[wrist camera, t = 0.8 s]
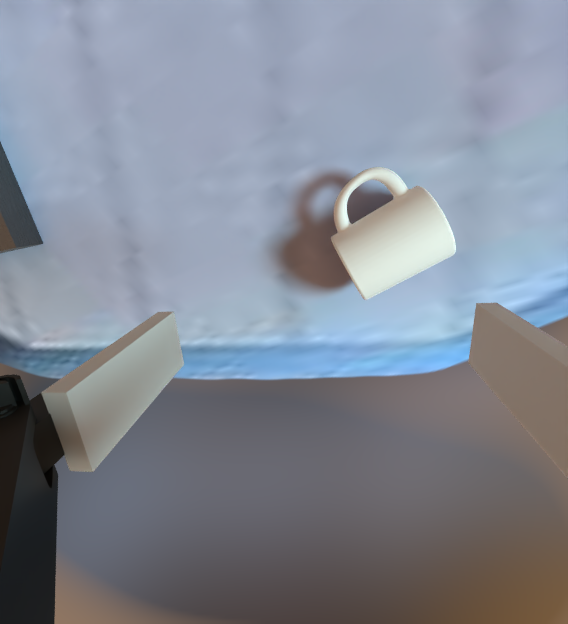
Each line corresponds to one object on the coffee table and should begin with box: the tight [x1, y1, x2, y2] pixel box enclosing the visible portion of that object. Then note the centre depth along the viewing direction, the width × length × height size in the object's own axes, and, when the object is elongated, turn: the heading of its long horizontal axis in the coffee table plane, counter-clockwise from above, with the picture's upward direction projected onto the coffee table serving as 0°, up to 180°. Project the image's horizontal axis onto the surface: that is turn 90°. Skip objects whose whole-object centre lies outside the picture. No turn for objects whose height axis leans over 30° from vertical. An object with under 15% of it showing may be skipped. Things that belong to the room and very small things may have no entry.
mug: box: [331, 167, 456, 300], centre depth 34 cm, size 12×10×8 cm
